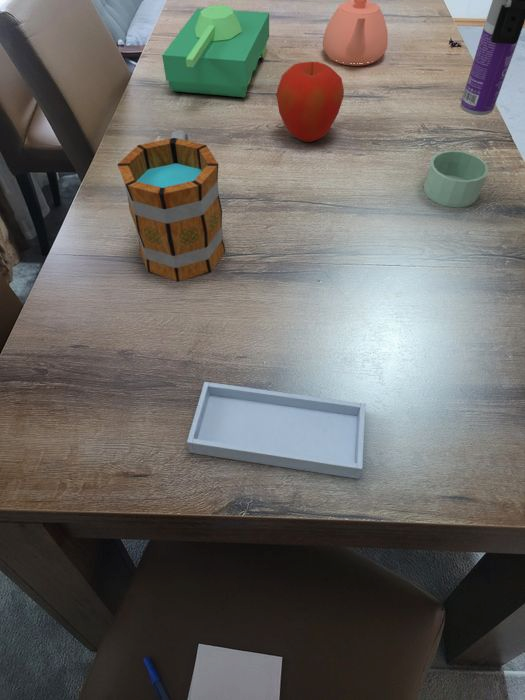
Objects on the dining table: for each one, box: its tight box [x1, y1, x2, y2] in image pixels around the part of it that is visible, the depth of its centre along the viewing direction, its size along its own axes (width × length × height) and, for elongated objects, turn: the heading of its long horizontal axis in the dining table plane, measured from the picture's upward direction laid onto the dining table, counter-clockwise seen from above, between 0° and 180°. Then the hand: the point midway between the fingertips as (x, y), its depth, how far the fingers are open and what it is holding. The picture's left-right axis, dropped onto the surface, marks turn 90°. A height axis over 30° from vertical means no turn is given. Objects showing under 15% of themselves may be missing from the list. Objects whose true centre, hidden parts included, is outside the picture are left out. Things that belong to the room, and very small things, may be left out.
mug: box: [117, 129, 227, 282], centre depth 73 cm, size 20×14×15 cm
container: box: [459, 0, 523, 116], centre depth 66 cm, size 5×5×15 cm
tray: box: [186, 381, 366, 480], centre depth 56 cm, size 19×8×3 cm, turn 80°
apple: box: [275, 61, 345, 143], centre depth 92 cm, size 12×12×14 cm
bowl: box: [423, 149, 490, 208], centre depth 85 cm, size 9×9×5 cm
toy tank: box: [161, 4, 270, 98], centre depth 109 cm, size 18×12×35 cm
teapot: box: [322, 0, 389, 67], centre depth 116 cm, size 22×16×12 cm
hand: (501, 32), depth 65 cm, fingers closed on container, 4 cm apart
